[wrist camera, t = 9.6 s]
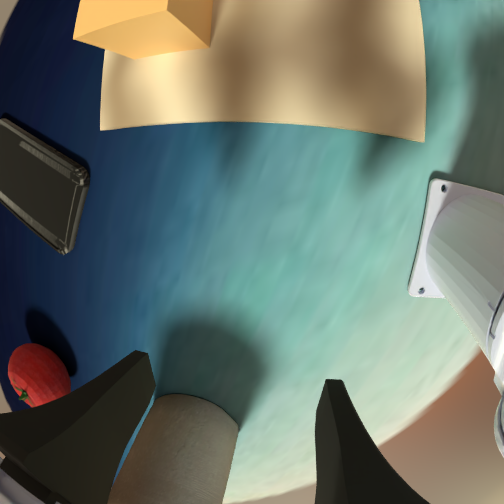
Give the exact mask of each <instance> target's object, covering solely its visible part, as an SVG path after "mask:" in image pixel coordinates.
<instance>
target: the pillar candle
mask: <svg viewBox="0 0 504 504" xmlns="http://www.w3.org/2000/svg"><path fill="white" fill-rule="evenodd" d="M238 431H239V429H238V425H237V423H236V422H235V421H234V420H233V419H232V418H231V417H230V416H229V415H228V414H227V413H226V412H225V411H224V410H223V409H221V408H220V407H218V406H217V405H215V404H213V403H211V402H209V401H206V400H204V399H200V398H197V397H194V396H189V395H183V394H170V395H165V396H162V397H159V398H157V399H156V400H155V401H154V403H153V405H152V407H151V409H150V411H149V413H148V415H147V416H146V418H145V420H144V422H143V424H142V426H141V428H140V430H139V432H138V434H137V436H136V438H135V441H134V443H133V445H132V447H131V449H130V451H129V453H128V455H127V457H126V459H125V461H124V463H123V466H122V468H121V470H120V472H119V474H118V476H117V478H116V480H115V482H114V485H113V487H112V489H111V491H110V495H109V499H108V503H107V504H222V501H223V497H224V493H225V489H226V485H227V481H228V477H229V473H230V469H231V464H232V459H233V455H234V450H235V446H236V441H237V437H238Z"/></svg>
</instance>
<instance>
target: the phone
mask: <svg viewBox="0 0 504 504" xmlns="http://www.w3.org/2000/svg"><path fill="white" fill-rule="evenodd" d="M89 185H90V177H89V173H88V172H87V170H86V169H85V168H84V167H83V166H81V165H80V164H78V163H77V162H75V161H73V160H72V159H70V158H68V157H67V156H65V155H64V154H62V153H61V152H59V151H57V150H56V149H54V148H53V147H51V146H49V145H47V144H46V143H44V142H42V141H41V140H39V139H38V138H36V137H34V136H33V135H31V134H30V133H28V132H26V131H25V130H23V129H22V128H20V127H18V126H17V125H15V124H14V123H12V122H10V121H9V120H7V119H0V202H1V203H2V204H3V205H4V206H5V207H6V208H7V209H8V210H9V211H10V212H12V213H13V214H14V215H15V216H16V217H17V218H18V219H19V220H20V221H21V222H23V223H24V224H25V225H26V226H27V227H28V228H29V229H31V230H32V231H33V232H34V233H35V234H36V235H38V236H39V237H40V238H41V239H42V240H44V241H45V242H46V243H47V244H48V245H50V246H51V247H52V248H53V249H55V250H56V251H57V252H58V253H60V254H66V253H68V252H70V251H71V250H72V249H73V248H74V245H75V241H76V236H77V232H78V227H79V223H80V219H81V215H82V211H83V207H84V203H85V200H86V196H87V193H88V189H89Z"/></svg>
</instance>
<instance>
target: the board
mask: <svg viewBox="0 0 504 504" xmlns="http://www.w3.org/2000/svg"><path fill="white" fill-rule="evenodd" d="M425 121H426V66H425V49H424V37H423V27H422V19H421V11H420V5H419V0H213V8H212V20H211V34H210V48H205V49H195V50H187V51H179V52H172V53H166V54H160V55H155V56H149V57H144V58H139V59H135V60H134V59H131V58H129V57H126V56H123V55H121V54H118V53H115V52H112V51H109V50H106V49H105V56H104V66H103V77H102V92H101V116H100V130H112V129H120V128H128V127H138V126H148V125H160V124H175V123H195V122H262V123H283V124H298V125H310V126H321V127H330V128H339V129H346V130H354V131H361V132H367V133H374V134H380V135H385V136H391V137H396V138H401V139H406V140H411V141H416V142H424V140H425Z"/></svg>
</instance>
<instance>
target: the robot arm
mask: <svg viewBox="0 0 504 504" xmlns="http://www.w3.org/2000/svg"><path fill="white" fill-rule="evenodd" d="M443 184H444V185H445V190H444V191H441V187H442V185H443ZM422 287H423V289H422V290H421V291H419V289H420V288H422ZM408 293H409V294H410V295H411V296H413V297H431V298H446V299H447V301H448V302H449V303H450V305H451V306H452V307H453V309H454V310H455V311H456V313H457V314H458V316H459V317H460V318H461V320H462V321H463V323H464V324H465V325H466V327H467V328H468V330H469V331H470V333H471V334H472V336H473V337H474V339H475V340H476V342H477V343H478V345H479V346H480V348H481V349H482V351H483V352H484V354H485V355H486V357H487V359H488V360H489V362H490V363H491V365H492V367H493V368H494V370H495V377H494V382H495V384H496V386H497V387H498V390H499V391H500V393H501V395H502V398H501V400H500V402H499V405H498V407H497V410H496V414H495V420H494V434H495V439H496V443H497V445H498V448H499V451H500V452H501V454H502V455H503V457H504V195H502V194H498V193H495V192H491V191H488V190H484V189H480V188H476V187H472V186H468V185H464V184H460V183H456V182H451V181H447V180H442V179H437V178H434V179H432V180H431V181H430V184H429V189H428V196H427V203H426V209H425V215H424V220H423V225H422V231H421V236H420V240H419V245H418V249H417V254H416V258H415V262H414V266H413V270H412V274H411V278H410V281H409V285H408ZM155 387H156V384H155V380H154V376H153V372H152V368H151V364H150V360H149V356H148V353H145V352H141V351H137V350H135V351H133V352H132V353H130V354H129V355H128V356H126V357H125V358H123V359H122V360H121V361H119V362H118V363H117V364H115V365H114V366H112V367H111V368H109V369H108V370H107V371H105V372H104V373H102V374H101V375H99V376H98V377H96V378H95V379H93V380H91V381H90V382H88V383H86V384H85V385H83V386H82V387H80V388H78V389H76V390H74V391H73V392H71V393H69V394H67V395H64V396H62V397H60V398H58V399H55V400H53V401H50V402H48V403H45V404H42V405H39V406H36V407H33V408H29V409H25V410H21V411H16V412H9V413H2V414H0V451H1V452H2V453H3V454H4V455H5V456H6V457H5V458H4V460H3V459H2V458H1V457H0V504H107V503H108V499H109V495H110V491H111V487H112V484H113V480H114V477H115V474H116V471H117V468H118V466H119V463H120V460H121V458H122V455H123V452H124V450H125V448H126V446H127V444H128V442H129V440H130V438H131V436H132V434H133V433H134V431H135V429H136V427H137V425H138V424H139V422H140V420H141V418H142V416H143V414H144V413H145V411H146V409H147V407H148V405H149V403H150V400H151V398H152V395H153V392H154V390H155ZM315 446H316V471H317V486H316V497H315V504H430V503H429V502H427V501H426V500H425V499H423V498H422V497H421V496H420V495H419V494H418V493H417V492H415V491H414V490H413V489H412V488H411V487H410V486H409V485H408V484H407V483H406V482H405V481H404V480H403V479H402V478H401V477H400V476H399V475H398V473H396V471H395V470H394V469H393V468H392V467H391V466H390V464H389V463H388V462H387V460H386V459H385V458H384V457H383V455H382V454H381V452H380V451H379V449H378V448H377V446H376V445H375V443H374V442H373V440H372V439H371V437H370V435H369V434H368V432H367V430H366V429H365V427H364V425H363V423H362V421H361V419H360V418H359V416H358V414H357V412H356V410H355V408H354V406H353V404H352V401H351V399H350V397H349V395H348V392H347V390H346V388H345V385H344V382H343V381H342V380H335V379H326V381H325V384H324V387H323V391H322V394H321V397H320V400H319V404H318V407H317V410H316V423H315Z"/></svg>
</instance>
